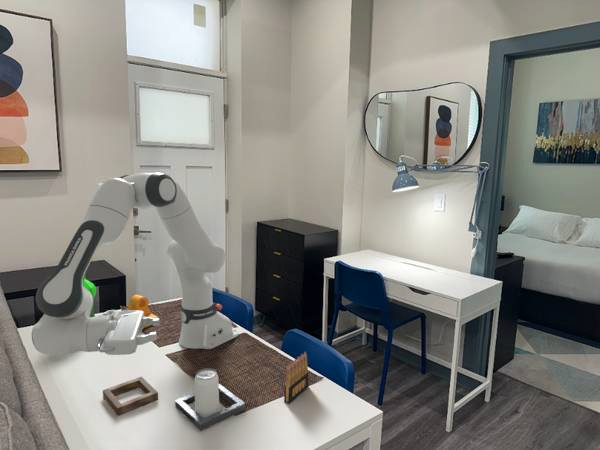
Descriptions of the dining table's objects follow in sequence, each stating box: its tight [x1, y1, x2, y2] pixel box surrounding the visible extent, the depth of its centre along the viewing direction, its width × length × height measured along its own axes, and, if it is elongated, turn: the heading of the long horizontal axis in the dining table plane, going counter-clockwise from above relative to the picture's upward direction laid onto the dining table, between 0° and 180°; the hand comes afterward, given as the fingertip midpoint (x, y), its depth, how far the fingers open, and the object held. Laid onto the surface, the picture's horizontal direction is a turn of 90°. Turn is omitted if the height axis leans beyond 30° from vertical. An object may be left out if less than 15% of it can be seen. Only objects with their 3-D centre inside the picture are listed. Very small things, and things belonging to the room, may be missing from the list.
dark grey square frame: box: [175, 383, 246, 432], centre depth 121 cm, size 14×14×2 cm
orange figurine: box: [127, 294, 159, 329], centre depth 175 cm, size 11×7×12 cm, turn 143°
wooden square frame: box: [102, 376, 159, 417], centre depth 124 cm, size 12×12×2 cm
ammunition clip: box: [283, 351, 309, 404], centre depth 127 cm, size 11×2×12 cm, turn 147°
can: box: [193, 367, 220, 419], centre depth 117 cm, size 6×6×12 cm
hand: (158, 328), depth 115 cm, fingers open, 8 cm apart
